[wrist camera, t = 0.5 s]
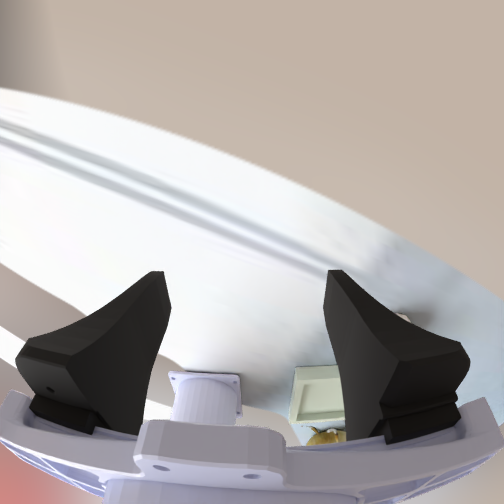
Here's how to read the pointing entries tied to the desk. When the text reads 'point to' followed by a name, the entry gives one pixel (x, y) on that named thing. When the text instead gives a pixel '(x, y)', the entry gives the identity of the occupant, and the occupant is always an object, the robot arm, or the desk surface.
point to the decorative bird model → (327, 437)
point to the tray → (316, 395)
